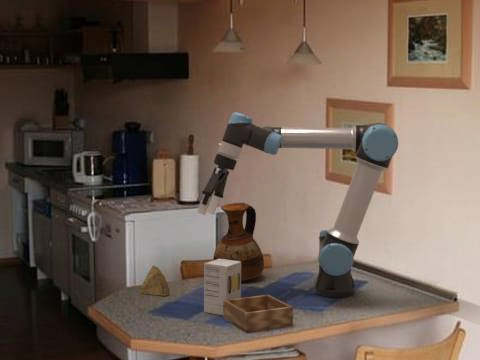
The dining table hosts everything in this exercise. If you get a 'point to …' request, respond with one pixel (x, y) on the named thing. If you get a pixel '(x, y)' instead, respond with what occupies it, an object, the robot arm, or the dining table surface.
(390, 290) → the dining table surface
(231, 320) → the oak crate
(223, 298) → the supplement box
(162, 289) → the rock
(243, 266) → the ceramic pitcher
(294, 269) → the dining table surface
